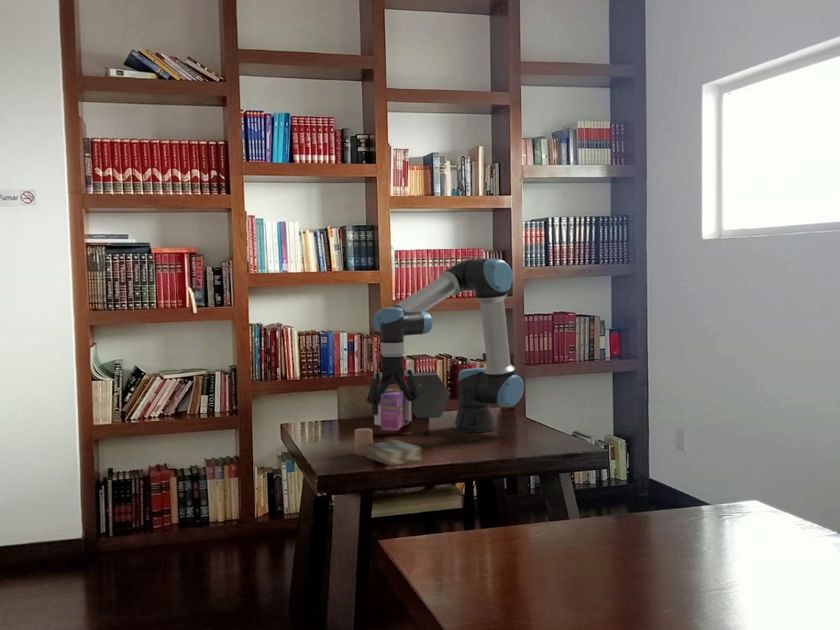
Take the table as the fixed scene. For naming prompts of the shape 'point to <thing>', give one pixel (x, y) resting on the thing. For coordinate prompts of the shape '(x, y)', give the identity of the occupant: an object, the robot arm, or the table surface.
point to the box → (392, 410)
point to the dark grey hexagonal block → (429, 395)
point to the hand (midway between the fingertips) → (393, 422)
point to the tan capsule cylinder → (363, 440)
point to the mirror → (393, 452)
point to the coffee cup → (407, 426)
